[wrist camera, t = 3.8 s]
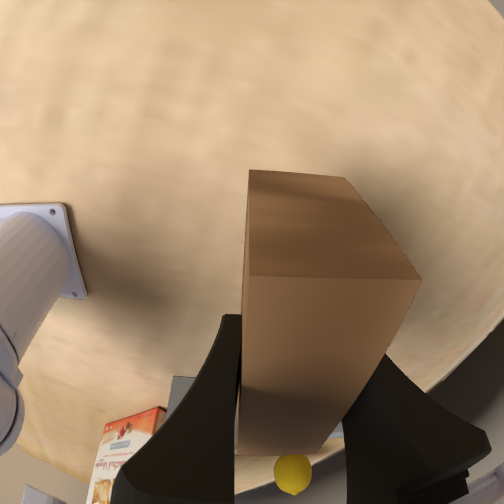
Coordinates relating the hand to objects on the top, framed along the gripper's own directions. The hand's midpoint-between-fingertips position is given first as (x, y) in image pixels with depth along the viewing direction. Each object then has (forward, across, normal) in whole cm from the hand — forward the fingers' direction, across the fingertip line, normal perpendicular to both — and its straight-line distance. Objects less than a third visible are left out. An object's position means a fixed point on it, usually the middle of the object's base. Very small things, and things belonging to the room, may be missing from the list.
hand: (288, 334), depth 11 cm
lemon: (+9, -7, +37) cm, 38 cm away
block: (+3, 0, 0) cm, 3 cm away
